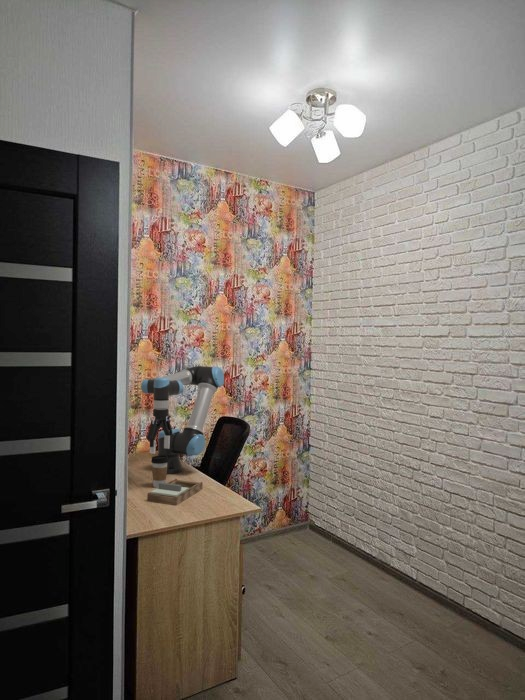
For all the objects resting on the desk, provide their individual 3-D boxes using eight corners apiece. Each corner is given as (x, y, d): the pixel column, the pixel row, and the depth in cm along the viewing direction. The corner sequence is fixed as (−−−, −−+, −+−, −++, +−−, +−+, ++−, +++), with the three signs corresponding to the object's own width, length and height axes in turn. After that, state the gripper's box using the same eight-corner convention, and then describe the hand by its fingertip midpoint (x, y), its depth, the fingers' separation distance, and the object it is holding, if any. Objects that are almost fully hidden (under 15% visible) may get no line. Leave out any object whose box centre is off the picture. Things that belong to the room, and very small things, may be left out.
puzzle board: (175, 485, 244) (175, 478, 244) (202, 489, 239) (202, 482, 239) (147, 500, 219) (147, 493, 219) (176, 505, 214) (176, 497, 214)
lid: (164, 486, 231) (164, 479, 231) (188, 489, 227) (188, 482, 227) (150, 493, 220) (150, 486, 220) (175, 496, 216) (176, 489, 216)
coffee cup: (163, 489, 237) (164, 458, 237) (147, 487, 239) (148, 457, 239) (170, 484, 246) (171, 455, 246) (154, 483, 247) (155, 454, 247)
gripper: (166, 405, 255) (165, 445, 255) (140, 410, 231) (139, 455, 231) (179, 406, 253) (178, 446, 253) (154, 411, 229) (152, 456, 229)
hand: (159, 450), depth 242 cm, fingers open, 13 cm apart
